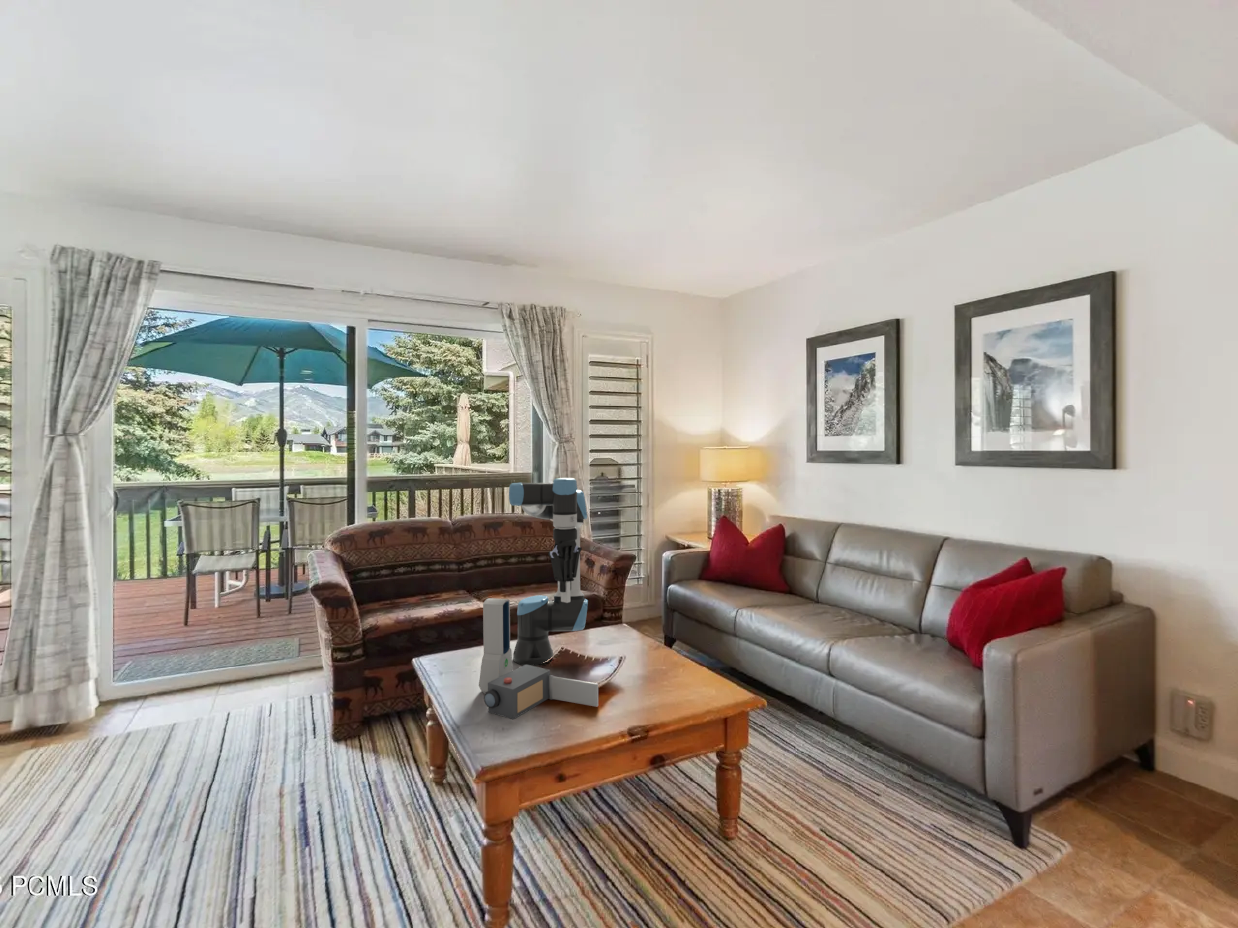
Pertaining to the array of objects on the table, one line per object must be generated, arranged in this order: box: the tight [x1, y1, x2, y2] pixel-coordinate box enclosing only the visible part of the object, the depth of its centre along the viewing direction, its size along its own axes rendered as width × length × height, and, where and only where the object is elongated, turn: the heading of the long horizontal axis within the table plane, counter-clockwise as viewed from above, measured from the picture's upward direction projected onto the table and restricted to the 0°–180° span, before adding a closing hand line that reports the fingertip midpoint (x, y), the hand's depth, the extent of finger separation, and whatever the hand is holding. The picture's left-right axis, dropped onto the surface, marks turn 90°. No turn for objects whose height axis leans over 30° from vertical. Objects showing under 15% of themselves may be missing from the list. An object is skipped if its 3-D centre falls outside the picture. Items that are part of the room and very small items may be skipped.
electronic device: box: [478, 597, 514, 694], centre depth 204 cm, size 12×8×30 cm, turn 168°
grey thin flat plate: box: [549, 674, 599, 708], centre depth 193 cm, size 17×2×7 cm, turn 68°
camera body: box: [483, 664, 551, 720], centre depth 190 cm, size 20×10×10 cm, turn 149°
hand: (565, 601), depth 192 cm, fingers closed
